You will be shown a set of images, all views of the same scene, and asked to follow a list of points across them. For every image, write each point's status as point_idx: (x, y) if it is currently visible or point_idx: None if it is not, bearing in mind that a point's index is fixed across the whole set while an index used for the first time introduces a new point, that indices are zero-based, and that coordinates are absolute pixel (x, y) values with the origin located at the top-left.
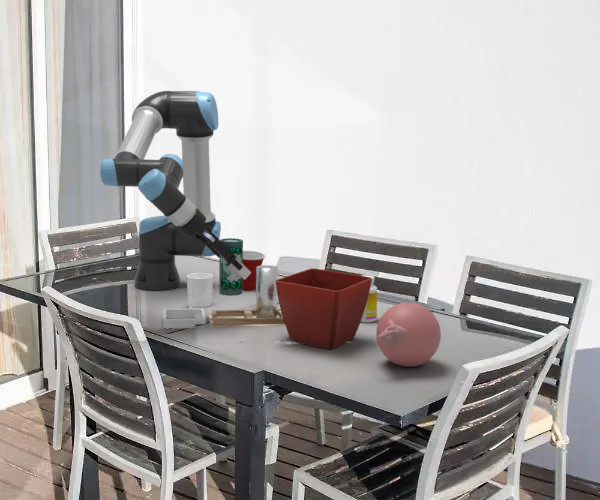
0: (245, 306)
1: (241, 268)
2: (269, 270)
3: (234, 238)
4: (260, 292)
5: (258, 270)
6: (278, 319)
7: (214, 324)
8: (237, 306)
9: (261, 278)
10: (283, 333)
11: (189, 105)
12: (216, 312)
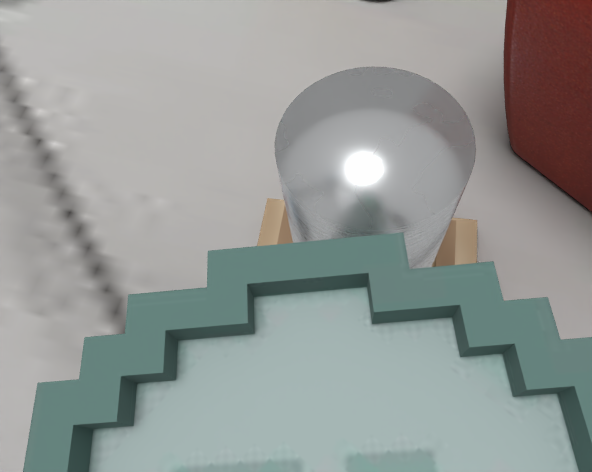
0: (35, 328)
1: None
2: (471, 146)
3: (59, 397)
4: None
5: (415, 230)
6: (453, 257)
7: None
8: (17, 367)
9: (437, 241)
10: (535, 272)
11: None
12: None
